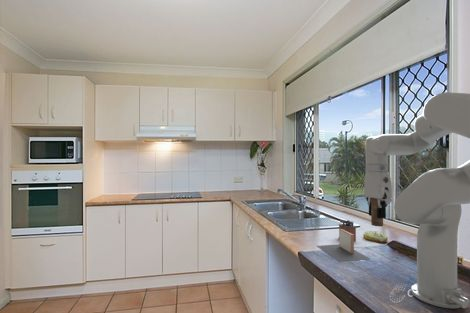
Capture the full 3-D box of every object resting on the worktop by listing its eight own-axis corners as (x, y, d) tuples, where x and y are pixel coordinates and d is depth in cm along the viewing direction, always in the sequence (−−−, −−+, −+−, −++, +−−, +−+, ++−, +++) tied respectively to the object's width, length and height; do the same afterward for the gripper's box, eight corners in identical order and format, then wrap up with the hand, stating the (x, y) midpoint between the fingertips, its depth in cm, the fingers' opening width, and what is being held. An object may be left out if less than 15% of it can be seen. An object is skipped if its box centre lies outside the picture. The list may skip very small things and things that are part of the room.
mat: (371, 260, 107) (371, 259, 107) (339, 263, 105) (339, 261, 105) (343, 245, 126) (343, 244, 126) (316, 247, 124) (316, 245, 124)
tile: (353, 253, 114) (353, 234, 114) (351, 253, 114) (351, 234, 114) (341, 246, 123) (341, 229, 123) (339, 246, 122) (339, 229, 122)
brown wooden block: (385, 226, 101) (385, 191, 101) (376, 226, 100) (375, 191, 100) (378, 223, 105) (377, 190, 105) (369, 224, 104) (368, 190, 104)
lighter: (356, 240, 133) (356, 220, 133) (355, 242, 130) (355, 222, 130) (339, 238, 137) (339, 218, 137) (338, 240, 134) (338, 219, 134)
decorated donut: (386, 245, 127) (386, 237, 127) (361, 241, 133) (361, 233, 133) (388, 239, 135) (388, 232, 135) (365, 236, 141) (365, 228, 141)
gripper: (402, 169, 95) (403, 221, 95) (370, 168, 112) (371, 212, 112) (383, 169, 94) (384, 222, 94) (354, 168, 110) (354, 212, 110)
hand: (377, 216), depth 103 cm, fingers closed on brown wooden block, 4 cm apart
